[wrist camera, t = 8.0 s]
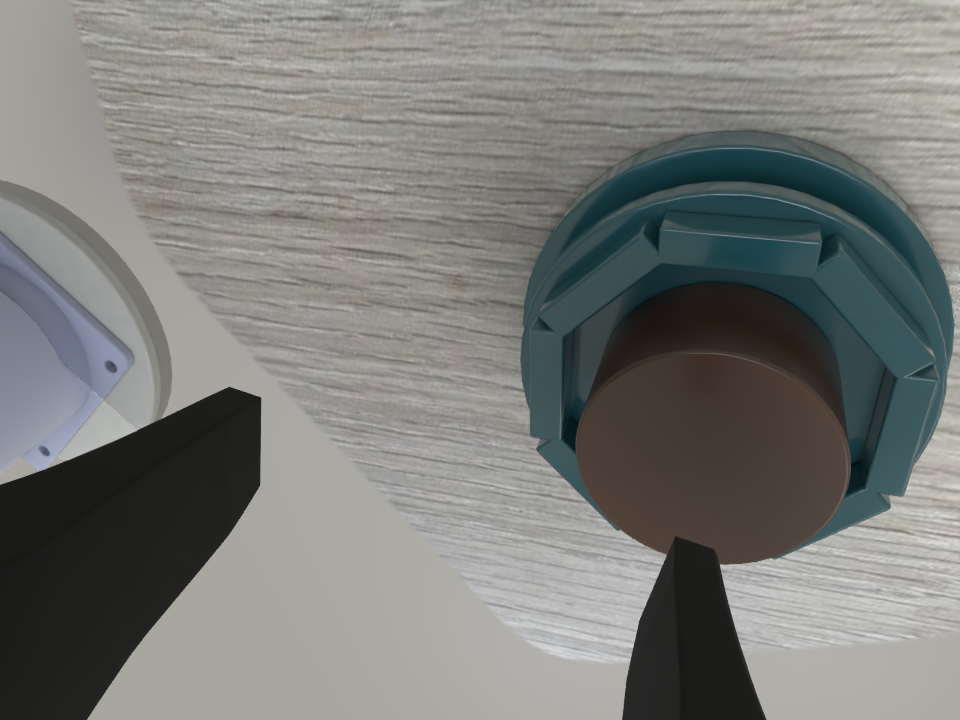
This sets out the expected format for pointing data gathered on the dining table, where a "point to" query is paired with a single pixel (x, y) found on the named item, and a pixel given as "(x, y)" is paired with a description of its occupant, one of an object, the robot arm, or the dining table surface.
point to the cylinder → (716, 424)
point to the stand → (758, 264)
